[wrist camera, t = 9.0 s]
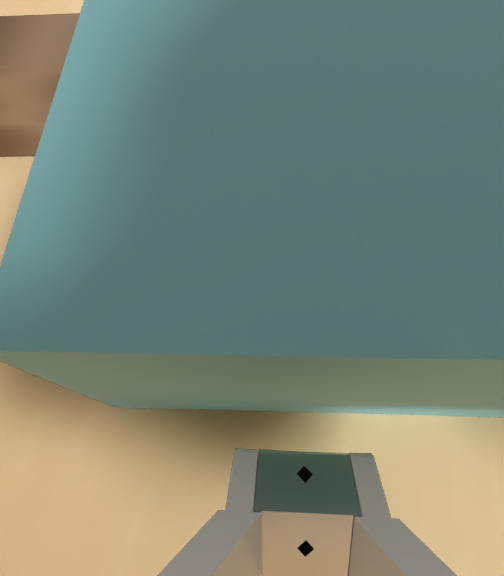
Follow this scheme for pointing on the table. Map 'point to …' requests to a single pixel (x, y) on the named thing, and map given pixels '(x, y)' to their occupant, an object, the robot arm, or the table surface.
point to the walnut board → (30, 76)
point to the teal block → (269, 209)
